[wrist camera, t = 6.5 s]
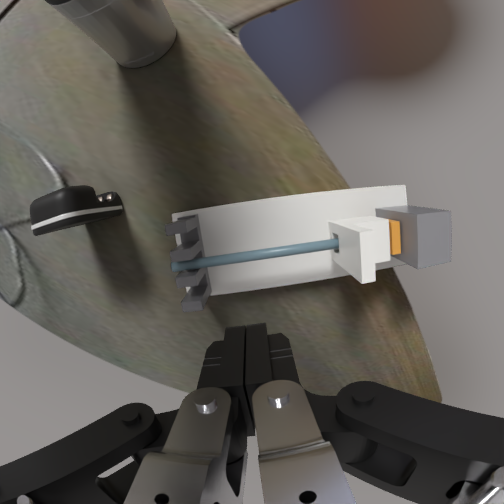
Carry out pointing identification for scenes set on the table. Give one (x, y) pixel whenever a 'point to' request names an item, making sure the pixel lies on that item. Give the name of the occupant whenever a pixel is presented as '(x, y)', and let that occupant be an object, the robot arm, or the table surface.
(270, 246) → the cable jig
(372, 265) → the sleeve
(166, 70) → the table surface
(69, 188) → the battery charger
